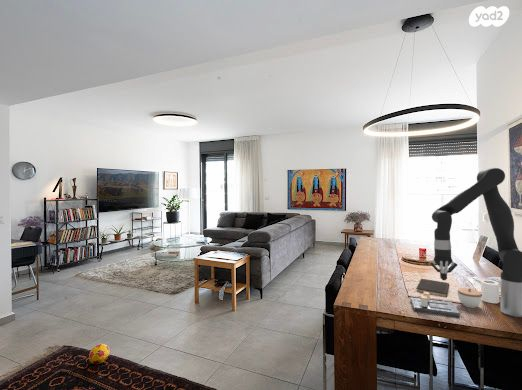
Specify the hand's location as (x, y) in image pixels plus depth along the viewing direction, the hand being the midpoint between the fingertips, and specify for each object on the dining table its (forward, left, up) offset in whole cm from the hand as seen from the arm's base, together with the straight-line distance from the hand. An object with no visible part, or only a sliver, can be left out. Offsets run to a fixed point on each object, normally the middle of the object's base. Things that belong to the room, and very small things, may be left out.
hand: (443, 279), depth 148 cm
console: (+5, +3, -15) cm, 16 cm away
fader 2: (+10, +7, -13) cm, 18 cm away
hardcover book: (-1, -31, -16) cm, 35 cm away
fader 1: (+8, 0, -13) cm, 15 cm away
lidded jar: (-14, -8, -15) cm, 22 cm away
